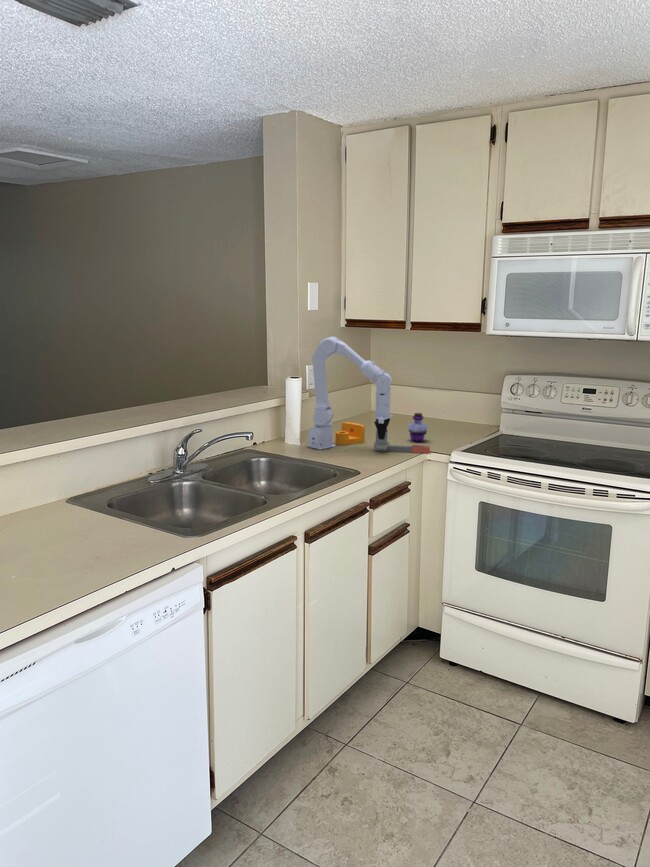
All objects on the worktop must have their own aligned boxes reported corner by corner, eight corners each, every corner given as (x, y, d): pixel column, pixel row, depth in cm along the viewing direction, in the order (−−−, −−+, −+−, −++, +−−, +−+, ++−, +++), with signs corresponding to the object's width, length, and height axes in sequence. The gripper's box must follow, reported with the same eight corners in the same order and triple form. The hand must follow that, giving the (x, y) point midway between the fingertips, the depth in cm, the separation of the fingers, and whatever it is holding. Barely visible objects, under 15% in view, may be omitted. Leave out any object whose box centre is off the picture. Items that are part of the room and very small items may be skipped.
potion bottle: (431, 441, 281) (433, 413, 279) (418, 444, 276) (419, 415, 273) (416, 437, 288) (417, 410, 285) (402, 440, 282) (403, 412, 279)
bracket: (366, 424, 277) (348, 429, 268) (365, 441, 279) (348, 446, 270) (345, 421, 284) (328, 425, 275) (345, 438, 285) (327, 442, 276)
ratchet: (373, 451, 262) (373, 438, 261) (374, 448, 268) (374, 434, 267) (429, 454, 259) (430, 440, 258) (429, 450, 265) (430, 437, 264)
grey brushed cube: (375, 443, 262) (375, 431, 261) (376, 441, 267) (376, 429, 265) (386, 444, 262) (387, 432, 261) (387, 441, 266) (387, 429, 265)
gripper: (392, 407, 253) (390, 442, 256) (394, 401, 267) (393, 434, 270) (373, 406, 254) (372, 441, 257) (376, 400, 268) (375, 433, 271)
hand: (381, 437), depth 264 cm, fingers closed on grey brushed cube, 4 cm apart
